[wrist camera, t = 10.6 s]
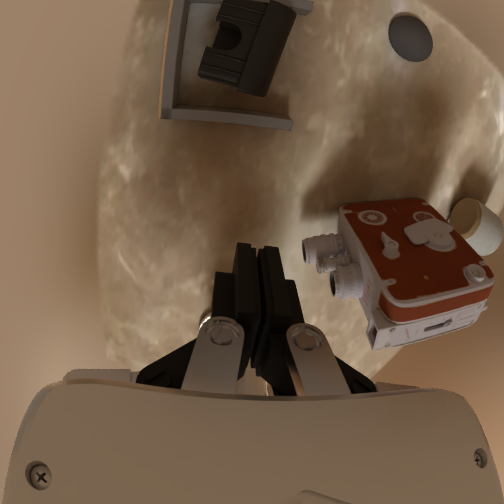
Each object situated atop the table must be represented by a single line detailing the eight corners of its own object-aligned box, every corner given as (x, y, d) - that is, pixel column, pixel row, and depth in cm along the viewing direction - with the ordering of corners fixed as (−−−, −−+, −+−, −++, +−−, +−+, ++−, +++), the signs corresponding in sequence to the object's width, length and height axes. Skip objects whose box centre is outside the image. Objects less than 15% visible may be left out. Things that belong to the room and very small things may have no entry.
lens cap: (424, 68, 28) (428, 68, 27) (383, 51, 27) (387, 51, 26) (431, 28, 24) (435, 27, 24) (390, 9, 24) (394, 8, 23)
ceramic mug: (461, 186, 37) (489, 210, 31) (485, 205, 39) (511, 229, 33) (429, 239, 43) (451, 268, 37) (455, 252, 45) (476, 279, 39)
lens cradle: (287, 125, 33) (291, 131, 30) (164, 114, 31) (157, 118, 29) (307, 6, 24) (313, 1, 22) (178, -7, 23) (172, -13, 20)
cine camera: (296, 198, 38) (337, 311, 22) (423, 187, 38) (508, 273, 21) (299, 255, 44) (329, 372, 27) (415, 240, 43) (479, 332, 27)
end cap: (262, 94, 31) (268, 100, 25) (202, 78, 29) (194, 80, 24) (290, 19, 25) (302, 9, 20) (229, 2, 24) (227, -13, 18)
